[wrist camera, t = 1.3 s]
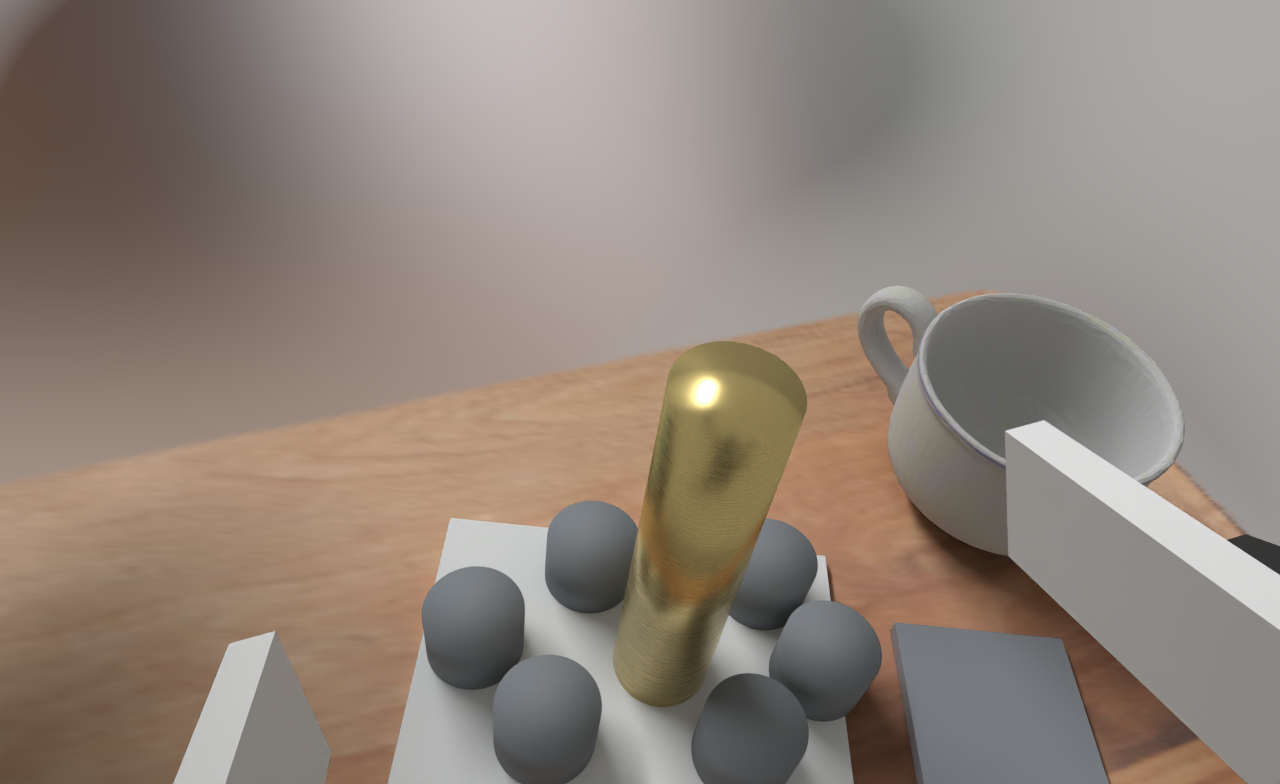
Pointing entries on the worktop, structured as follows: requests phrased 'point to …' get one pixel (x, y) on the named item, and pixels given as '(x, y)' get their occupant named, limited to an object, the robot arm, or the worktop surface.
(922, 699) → the slate coaster
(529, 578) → the mat
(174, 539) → the worktop surface
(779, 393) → the cylinder
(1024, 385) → the teacup
